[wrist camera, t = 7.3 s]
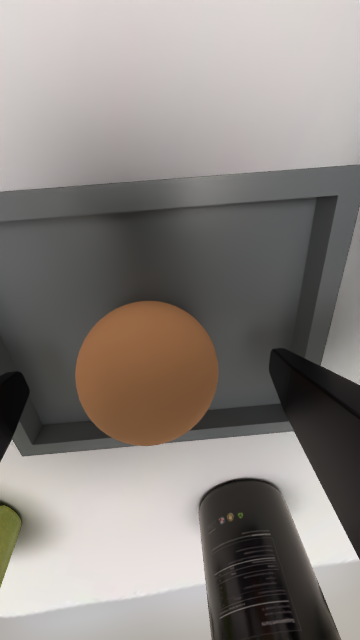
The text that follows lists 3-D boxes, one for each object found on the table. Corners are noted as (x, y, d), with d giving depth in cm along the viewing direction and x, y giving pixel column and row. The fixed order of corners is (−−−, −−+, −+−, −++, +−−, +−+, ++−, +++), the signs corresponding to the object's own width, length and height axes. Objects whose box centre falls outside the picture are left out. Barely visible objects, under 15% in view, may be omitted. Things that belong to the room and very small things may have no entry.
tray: (333, 170, 9) (370, 163, 7) (288, 404, 14) (304, 430, 13) (-73, 201, 9) (-127, 201, 7) (38, 427, 14) (22, 456, 12)
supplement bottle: (293, 507, 20) (443, 870, 9) (219, 531, 21) (274, 877, 10) (265, 464, 17) (437, 920, 6) (182, 495, 18) (204, 921, 7)
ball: (205, 277, 10) (239, 340, 5) (207, 372, 12) (232, 472, 8) (84, 287, 10) (17, 360, 5) (109, 381, 12) (76, 488, 8)
